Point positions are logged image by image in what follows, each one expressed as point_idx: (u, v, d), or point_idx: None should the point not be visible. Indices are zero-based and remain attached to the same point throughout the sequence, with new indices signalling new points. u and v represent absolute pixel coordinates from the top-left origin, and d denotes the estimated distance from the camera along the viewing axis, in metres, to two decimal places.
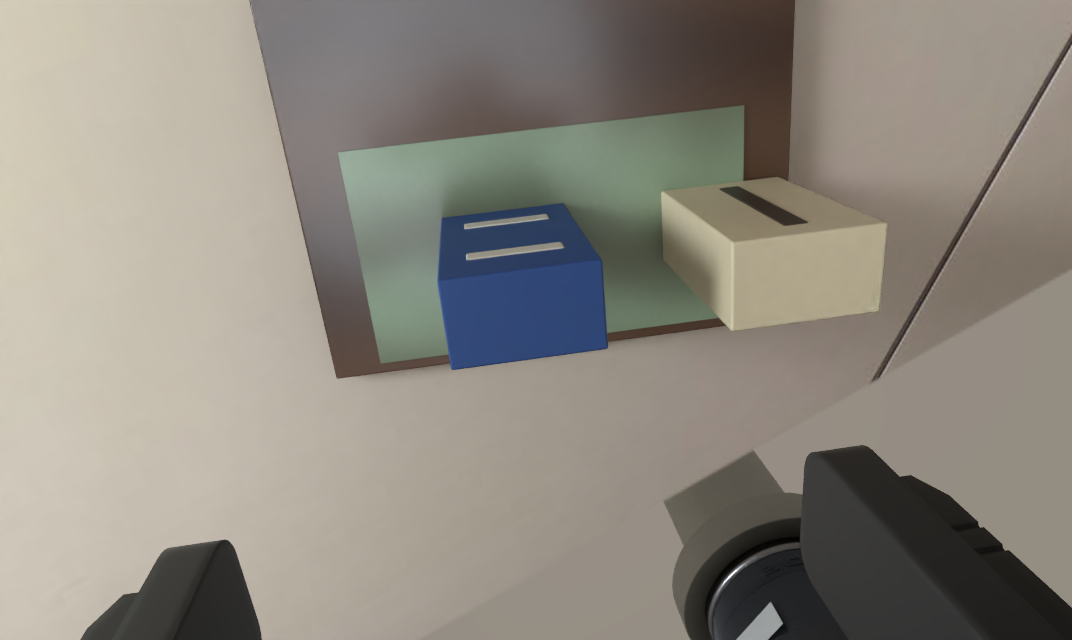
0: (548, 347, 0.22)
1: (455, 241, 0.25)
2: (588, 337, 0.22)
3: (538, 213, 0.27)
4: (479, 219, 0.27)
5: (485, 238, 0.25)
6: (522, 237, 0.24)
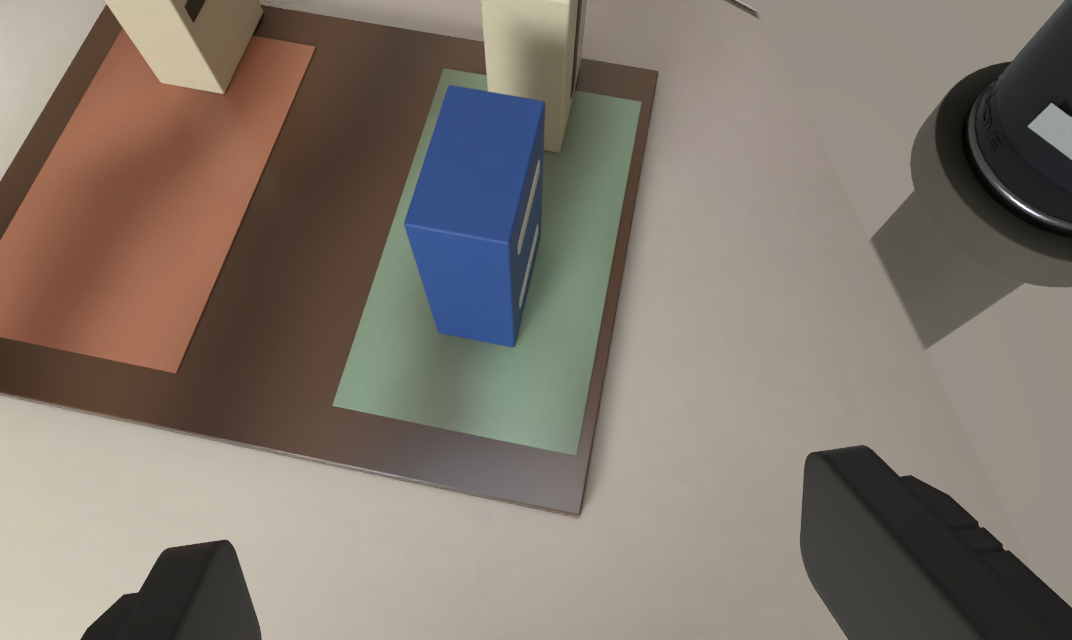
0: (520, 149, 0.20)
1: None
2: (524, 113, 0.21)
3: None
4: None
5: None
6: None
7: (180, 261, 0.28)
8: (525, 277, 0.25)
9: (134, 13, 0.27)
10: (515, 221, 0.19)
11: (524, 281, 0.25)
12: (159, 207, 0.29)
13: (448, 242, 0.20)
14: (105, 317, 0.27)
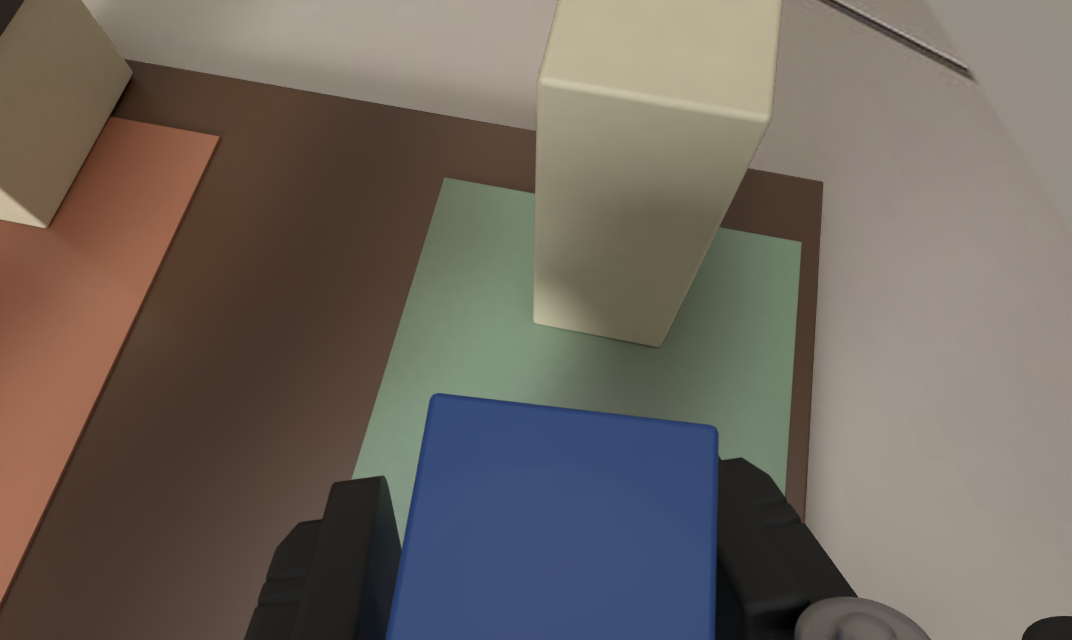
0: (678, 619, 0.06)
1: None
2: (667, 477, 0.07)
3: None
4: None
5: None
6: None
7: None
8: None
9: None
10: None
11: None
12: None
13: None
14: None
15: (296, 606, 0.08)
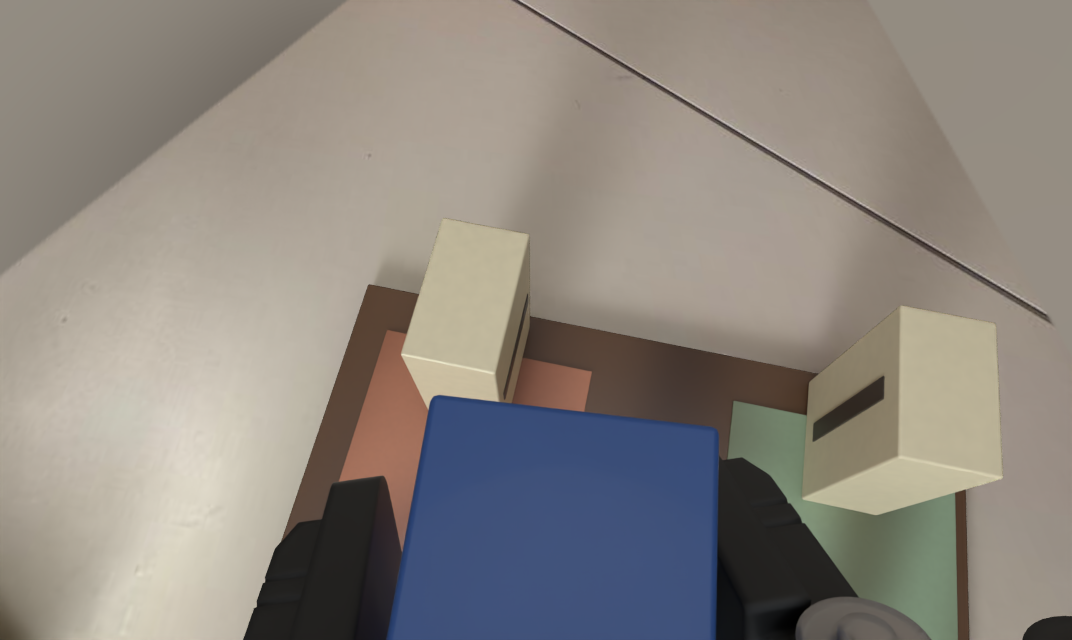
0: (679, 622, 0.06)
1: None
2: (667, 479, 0.07)
3: None
4: None
5: None
6: None
7: None
8: None
9: None
10: None
11: None
12: None
13: None
14: None
15: (296, 606, 0.08)
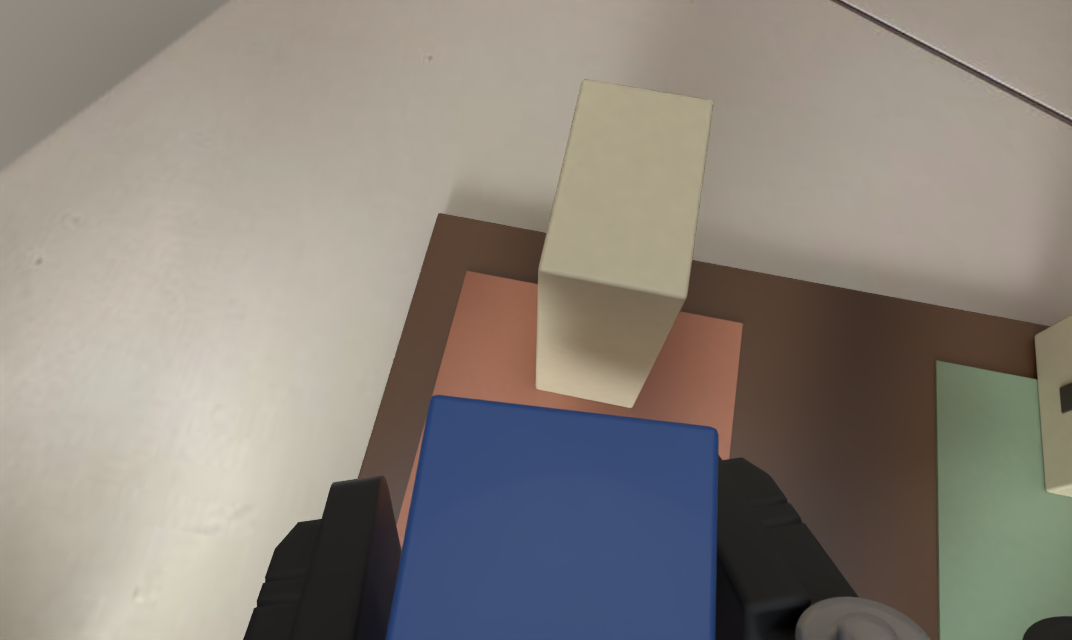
0: (678, 622, 0.06)
1: None
2: (667, 479, 0.07)
3: None
4: None
5: None
6: None
7: None
8: None
9: (577, 348, 0.17)
10: None
11: None
12: None
13: None
14: None
15: (296, 606, 0.08)
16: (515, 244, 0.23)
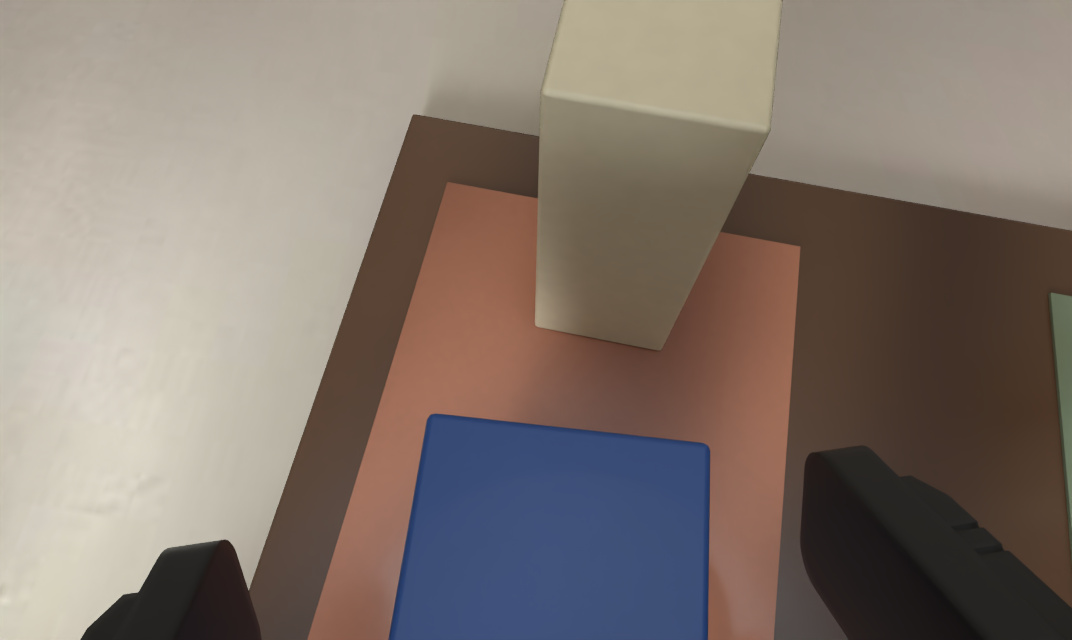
0: (671, 636, 0.07)
1: None
2: (660, 495, 0.07)
3: None
4: None
5: None
6: None
7: None
8: None
9: (593, 250, 0.13)
10: None
11: None
12: None
13: None
14: None
15: None
16: (509, 151, 0.19)
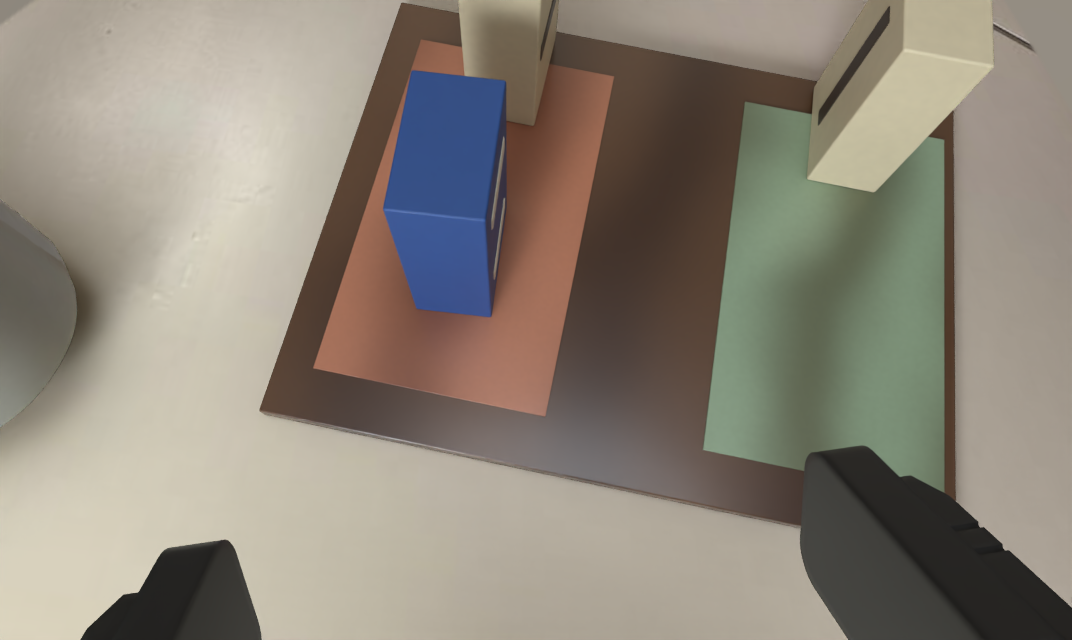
0: (487, 129, 0.21)
1: None
2: (487, 93, 0.22)
3: None
4: None
5: None
6: None
7: (525, 302, 0.28)
8: (497, 249, 0.26)
9: (488, 52, 0.27)
10: (489, 198, 0.21)
11: (496, 253, 0.26)
12: None
13: (426, 223, 0.21)
14: (462, 358, 0.27)
15: None
16: (456, 24, 0.33)
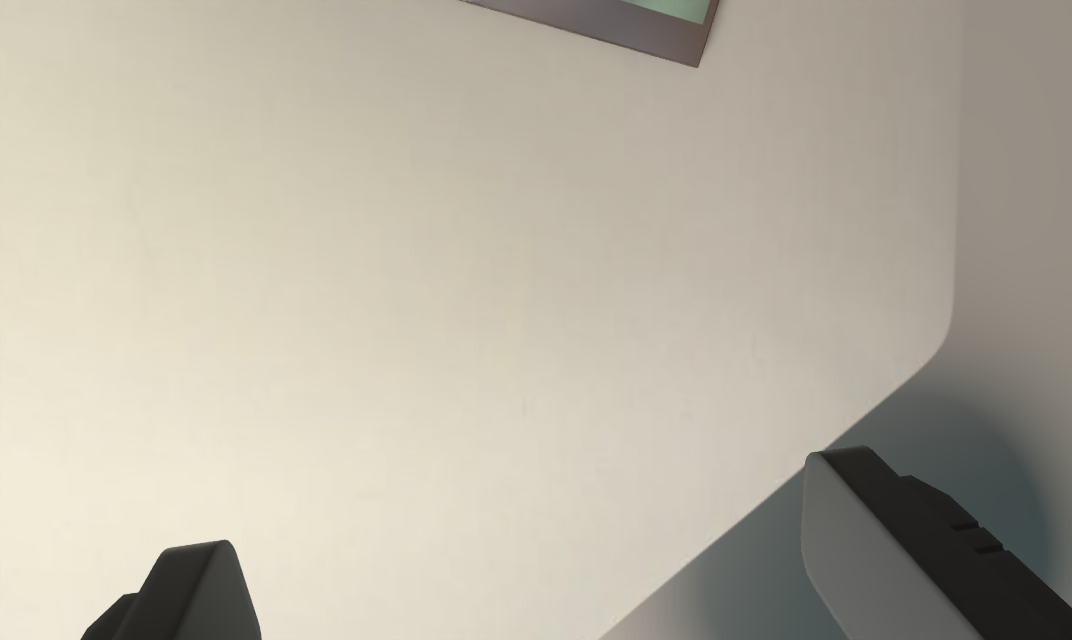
0: None
1: None
2: None
3: None
4: None
5: None
6: None
7: None
8: None
9: None
10: None
11: None
12: None
13: None
14: None
15: None
16: None
